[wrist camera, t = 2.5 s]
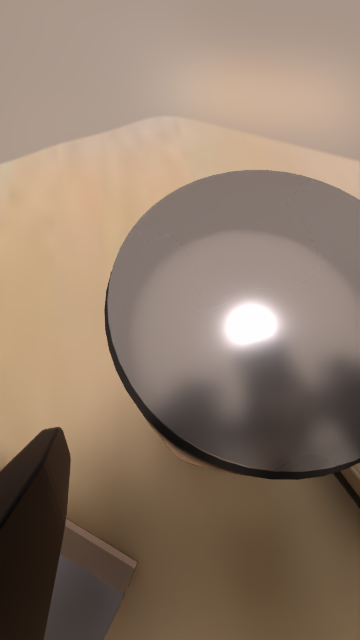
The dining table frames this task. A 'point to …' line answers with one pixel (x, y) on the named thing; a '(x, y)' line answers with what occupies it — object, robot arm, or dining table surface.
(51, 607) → the square plate with hole
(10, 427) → the dining table surface
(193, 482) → the dining table surface
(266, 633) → the dining table surface
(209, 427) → the shiny metal cylinder
